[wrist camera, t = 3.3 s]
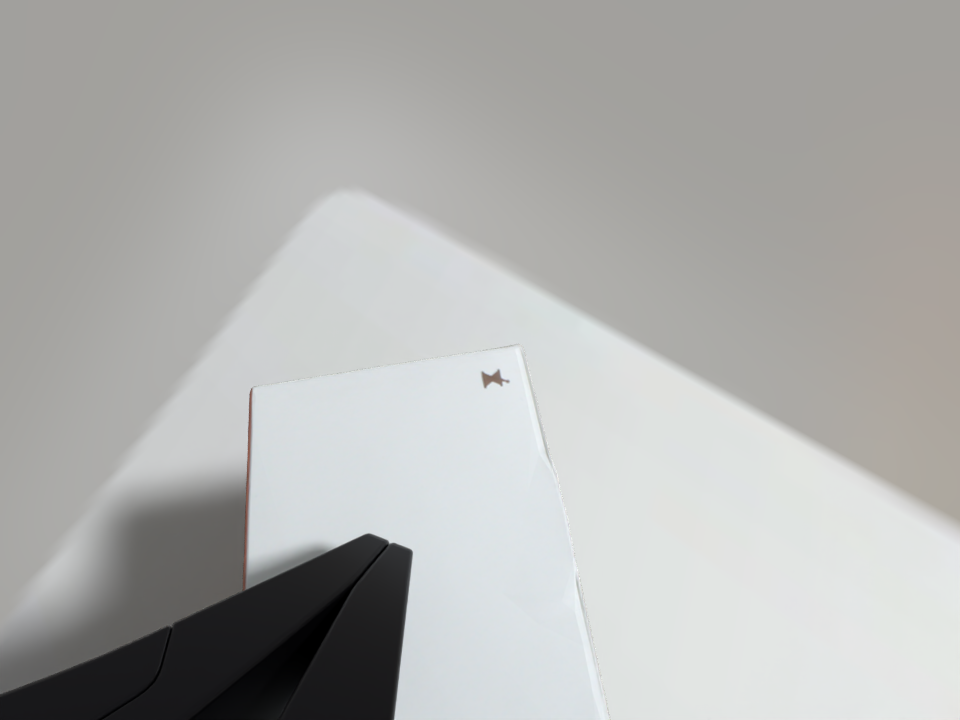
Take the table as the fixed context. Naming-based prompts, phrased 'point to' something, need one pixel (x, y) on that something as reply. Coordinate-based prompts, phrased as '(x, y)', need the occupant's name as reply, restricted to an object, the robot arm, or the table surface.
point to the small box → (436, 525)
